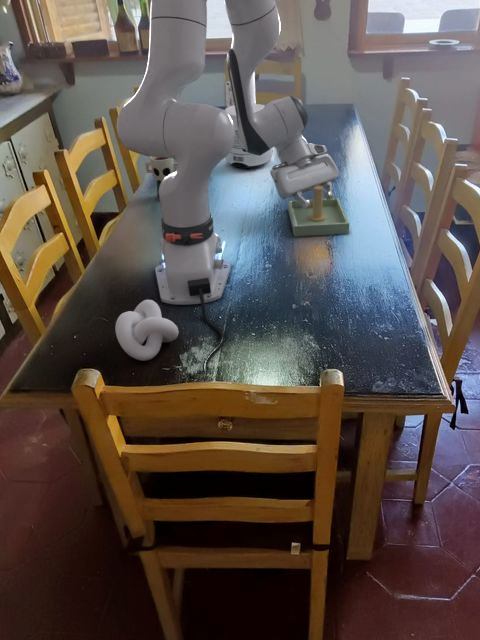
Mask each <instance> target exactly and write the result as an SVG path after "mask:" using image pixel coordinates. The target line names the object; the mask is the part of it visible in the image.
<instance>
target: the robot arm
mask: <svg viewBox="0 0 480 640" xmlns="http://www.w3.org/2000/svg"><path fill="white" fill-rule="evenodd" d="M207 3H208V0H150V15H149V47H148V59H147V66H146V71H145V74H144V78H143V80H142V81H141V84H140V86H139V88H138V90H137V91H136V93H135V94H134V95H133V96H132V97H131V99H130V100H129V101H127V103H125V104H124V105H123V106H122V107H121V109H120V110H119V113H118V115H117V119H116V131H117V136H118V138H119V140H120V144H122V146H123V147H124V148H125V149H126V150H127V151H130V152H132V153H136V154H139V155H142V156H146V157H150V156H152V157H163V158H173V159H174V160H175V162H177V165H176V166H177V167H176V170H177V171H175V172H173V173H171V174H170V175H168V176H167V177H165V178H164V179H163V180H162V182H161V184H160V186H159V191H158V193H159V198H158V200H159V203H160V204H159V206H160V210H161V216H162V217H161V219H160V220H161V221H160V223H161V231H162V236H161V237H160V239H159V240H158V242H159V248H160V254H161V260H159V265H157V266H156V267H155V268H154V273H155V277H156V283H157V287H158V293H159V297H160V301H161V302H162V303H165V304H168V305H180V306H181V305H182V306H186V305H188V306H189V305H200V307H201V308H200V309H201V314H202V317H203V319H204V321H205V323H207V325H208V326H210V327H211V328H212V329H213V330H214V331H216V332H217V333H218V334H219V336H220V340H219V343H218V344H217V345H216V347H217V346H218V345H219V344H220V342H221V339H222V337H223V341H222V343H221V344H220V346H219V347H218V348H217V349H216V350H215V351H214V352H213V353H212V354H211V355H210V353H209V354H208V355H207V356H206V358H207V357H208V356H209V355H210V357H209V358H208V360H207V362H206V369H207V371H208V372H209V373H210V371H209V370H208V365H209V362H210V360H211V359H212V358H213V357H214V356H215V355H216V354H217V353H218V352H219V351H220V350H221V349H222V347H223V345H224V343H225V338H226V336H225V333H224V331H223V330H222V329H221V328H220V327H219V326H217V325H216V324H215V323H213V322H212V321H211V320H210V318H209V317H208V315H207V310H206V303H211V302H215V301H216V300H219V299H221V298H222V296H223V293H224V290H225V287H226V284H227V282H228V279H229V275H230V273H231V270H232V263H231V262H229V261H226V260H224V257H223V255H224V254H223V253H224V252H223V251H224V249H225V246H226V241H225V240H223V242H222V238H221V236H219V235H218V234H217V233H216V232H215V231H214V229H215V228H214V219H213V214H212V213H211V209H210V182H211V181H210V180H211V177H212V174H213V172H214V170H215V168H216V167H217V166H218V164H219V163H221V161H223V160H224V159H225V157H226V156H227V155H228V154H229V153H230V151H231V149H232V147H233V145H234V141H235V127H234V123H233V121H232V118H231V117H230V115H229V114H228V112H227V111H226V110H225V109H223V108H221V107H216V106H214V105H211V104H206V103H197V102H180V98H181V95H182V93H183V91H184V90H185V88H186V87H187V86H189V85H190V84H192V83H193V82H196V81H197V80H198V79H199V78H200V77H201V76H202V75H203V72H204V70H205V67H206V50H207V29H208V8H207ZM223 3H224V6H225V12H226V15H227V18H228V21H229V24H230V28H231V35H232V36H231V46H230V48H229V50H228V51H227V54H226V64H227V72H228V77H229V78H228V79H229V81H230V84H231V89H232V95H233V100H234V105H235V110H236V116H237V124H238V132H239V138H240V142H241V144H242V146H243V147H244V149H245V150H246V152H248V153H250V154H253V155H258V156H261V155H262V154H264V153H265V152H267V151H268V150H270V149H271V148H273V149H275V151H276V154H277V157H278V159H279V162H280V163H279V164H275V165H273V166H272V167H271V169H270V171H269V172H270V173H269V174H270V176H271V178H272V180H273V182H274V186H275V189H276V191H277V194H278V196H279V197H280V198H281V199H282V200H286V199H290V198H292V197H293V198H294V200H296V201H298V202H299V203H300V204H302V206H303V208H304V209H306V208H308V207H310V206H311V204H310V203H309V200H310V199H306V198H305V197H303V194H304V193H306V192H309V191H312V190H314V187H315V186H322V187H323V190H324V189H325V191H326V193H325V194H324V197H325V199H327V200H330V199H332V198H335V195H334V192H333V183H334V182H335V181H337V179H338V178H339V177H340V170H339V169H338V166H337V164H336V163H335V161H334V159H333V158H332V157H331V155H330V154H328V153H327V152H328V148H327V146H325V145H324V144H314V143H308V141H307V140H306V138H305V137H304V136H303V134H302V133H303V132H304V131H305V130H306V127H307V125H308V122H309V116H308V115H309V114H308V113H307V110H306V108H305V106H304V105H303V103H302V100H301V99H299V98H298V97H296V96H293V95H287V96H284V97H282V98H277V99H273V100H271V101H269V102H267V103H266V104H265V105H264V108H263V109H261V110H259V111H257V112H255V113H254V112H253V106H252V100H251V94H250V88H249V83H250V79H251V76H252V74H253V73H254V71H255V72H256V70H257V69H258V67H259V66H260V64H261V63H262V62H263V61H265V59H266V58H267V57H268V56H269V55H270V54H271V52H272V51H273V50H274V49H275V47H276V45H277V43H278V41H279V37H280V35H281V19H280V14H279V9H278V6H277V2H276V0H223ZM206 358H205V359H204V361H203V364H202V371H203V373H204V375H205V371H204V363H205V360H206Z"/></svg>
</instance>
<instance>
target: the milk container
mask: <svg viewBox="0 0 480 640" xmlns="http://www.w3.org/2000/svg"><path fill="white" fill-rule="evenodd" d="M252 106H253V112H254V113H255V112H257V111H259V110H261V109H263V108H264V106H265V105H264V104H259V103H256V104H252ZM224 110H226V111H227V112H228V114H229V115H230V117H231V118H232V121H233V123H234V127H235V141H234V145H233V147H232V149H231V151H230V153H229V154H228V155H227V156H226V157H225V158H224V159H225V161H226V162H227V163H228V164H229V165H231V166H233V167H235V168H241V169H253V168H258V167H262V166H264V165H267V164H268V163H269V162H271V160H272V158H273V154H274V147H273V148H271V149H270V150H268V151H267V152H265V153H264V154H262V155H261V156H258V155H253V154H250V153H248V152H246V150H245V149H244V147H243V146H242V144H241V142H240V138H239V132H238V124H237V116H236V110H235V105H234V106H230V107H228V108H227V107H225V109H224Z"/></svg>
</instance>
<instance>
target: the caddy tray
mask: <svg viewBox="0 0 480 640" xmlns="http://www.w3.org/2000/svg"><path fill="white" fill-rule="evenodd" d="M312 198H313V199H308V200H309V203H310V204H311V206H310V207H308V208H306V209H304V208H303V206H302V204H300V203H299V202H298V201H296V200H295V199H294V200H288V202H287V211H288V215H289V219H290V224H291V228H292V232H293V236H294V237H309V236H327V235H329V236H330V235H345V234H346V235H347V234H349V233H350V221H349V219H348V216H347V214H346V212H345V209H344V207H343V205H342V203H341V202H342V201H341V200H340V198H339V197H333V198H332V199H330V200H327V199H326V198H324V187H323V186H315V187H314V189H313V197H312Z"/></svg>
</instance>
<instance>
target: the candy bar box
mask: <svg viewBox="0 0 480 640" xmlns="http://www.w3.org/2000/svg"><path fill="white" fill-rule="evenodd" d="M224 86H225V100H226V101H225V103H226V108H228V107H230V106H234V100H233V95H232V89H231V84H230V80H229V81H225V82H224Z"/></svg>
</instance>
